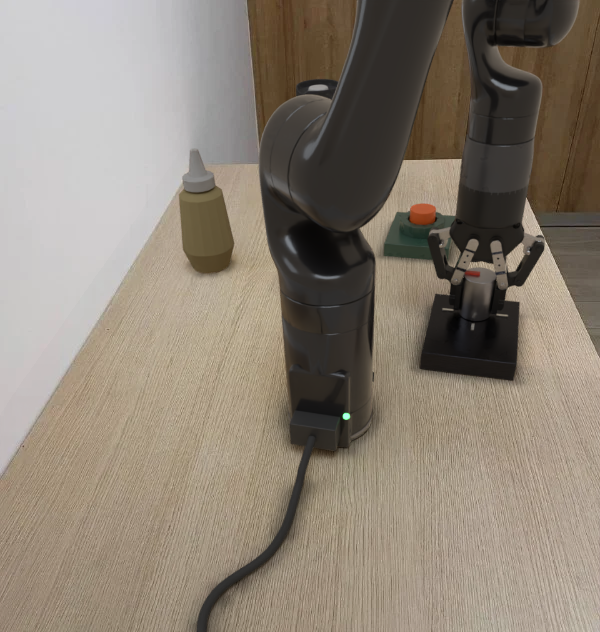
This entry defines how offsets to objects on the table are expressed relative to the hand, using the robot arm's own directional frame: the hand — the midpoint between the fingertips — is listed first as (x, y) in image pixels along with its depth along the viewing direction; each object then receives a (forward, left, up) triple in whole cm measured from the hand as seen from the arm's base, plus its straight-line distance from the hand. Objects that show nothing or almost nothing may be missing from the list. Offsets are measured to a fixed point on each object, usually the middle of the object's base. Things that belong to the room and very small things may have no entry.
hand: (475, 308), depth 82 cm
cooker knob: (0, 0, -1) cm, 1 cm away
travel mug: (+37, +30, -3) cm, 48 cm away
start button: (+24, +10, 0) cm, 26 cm away
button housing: (+24, +10, -3) cm, 26 cm away
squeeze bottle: (+10, +41, -3) cm, 42 cm away
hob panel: (-3, 0, -3) cm, 4 cm away
